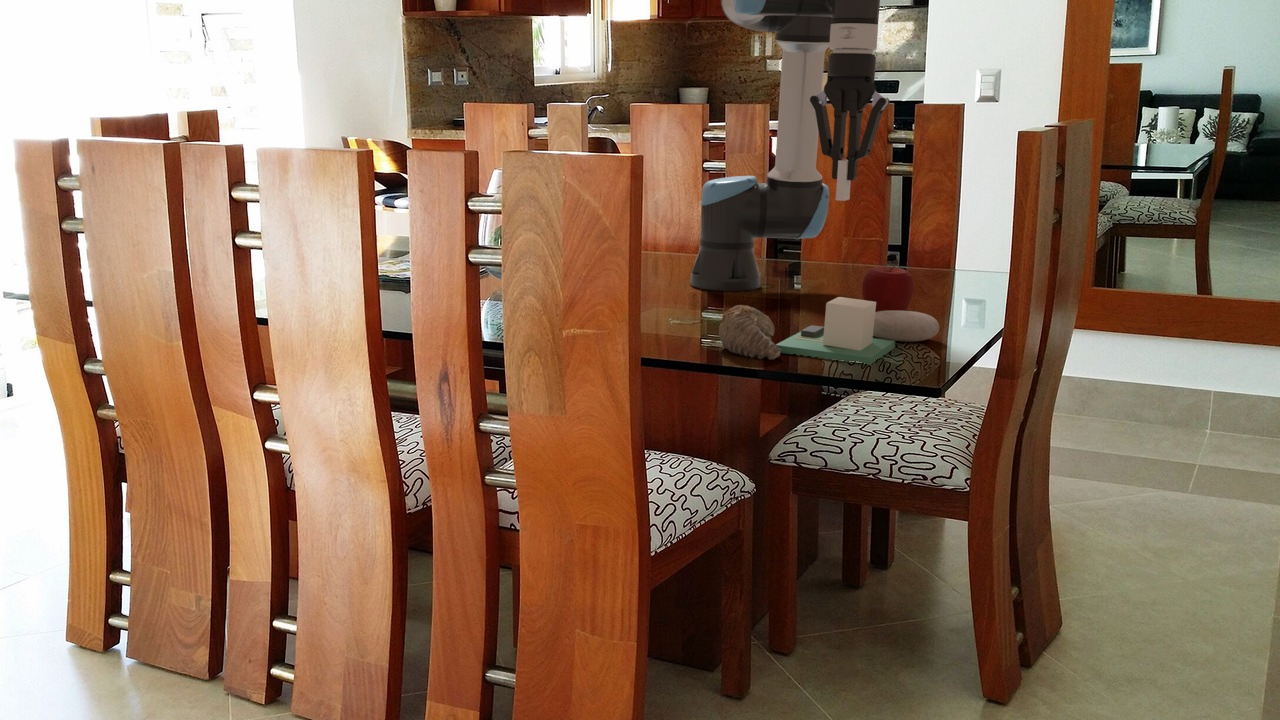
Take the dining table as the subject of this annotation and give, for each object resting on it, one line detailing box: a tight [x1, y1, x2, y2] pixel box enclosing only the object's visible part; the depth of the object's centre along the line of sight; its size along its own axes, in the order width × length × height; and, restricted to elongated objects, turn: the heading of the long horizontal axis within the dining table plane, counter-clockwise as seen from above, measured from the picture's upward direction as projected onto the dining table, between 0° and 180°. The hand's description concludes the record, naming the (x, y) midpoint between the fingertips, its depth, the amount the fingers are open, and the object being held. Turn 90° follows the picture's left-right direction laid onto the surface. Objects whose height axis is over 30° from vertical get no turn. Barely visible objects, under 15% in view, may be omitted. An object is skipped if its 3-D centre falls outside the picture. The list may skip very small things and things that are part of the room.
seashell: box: [718, 304, 781, 361], centre depth 182 cm, size 14×10×10 cm
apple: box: [861, 265, 915, 312], centre depth 209 cm, size 10×10×10 cm
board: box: [775, 324, 896, 366], centre depth 183 cm, size 16×14×4 cm
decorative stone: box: [873, 310, 940, 343], centre depth 192 cm, size 13×9×5 cm
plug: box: [823, 296, 876, 351], centre depth 182 cm, size 6×7×7 cm
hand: (842, 199), depth 184 cm, fingers closed
